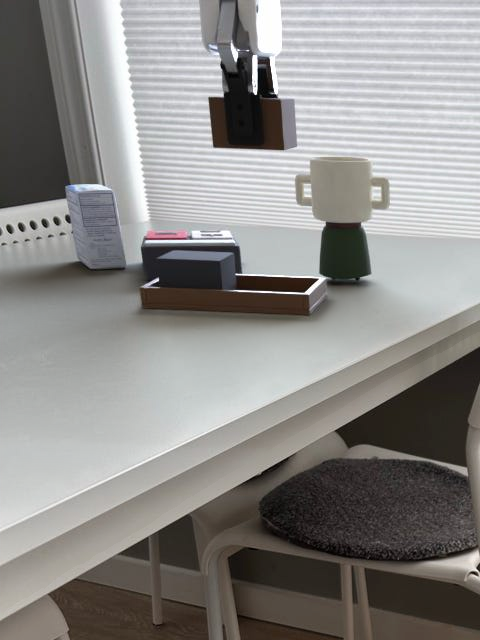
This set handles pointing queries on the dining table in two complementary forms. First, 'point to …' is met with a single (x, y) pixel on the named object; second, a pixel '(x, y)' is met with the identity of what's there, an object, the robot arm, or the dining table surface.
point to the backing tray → (242, 295)
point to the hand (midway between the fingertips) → (255, 141)
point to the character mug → (343, 211)
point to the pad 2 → (275, 124)
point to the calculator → (186, 246)
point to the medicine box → (95, 226)
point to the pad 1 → (197, 270)
